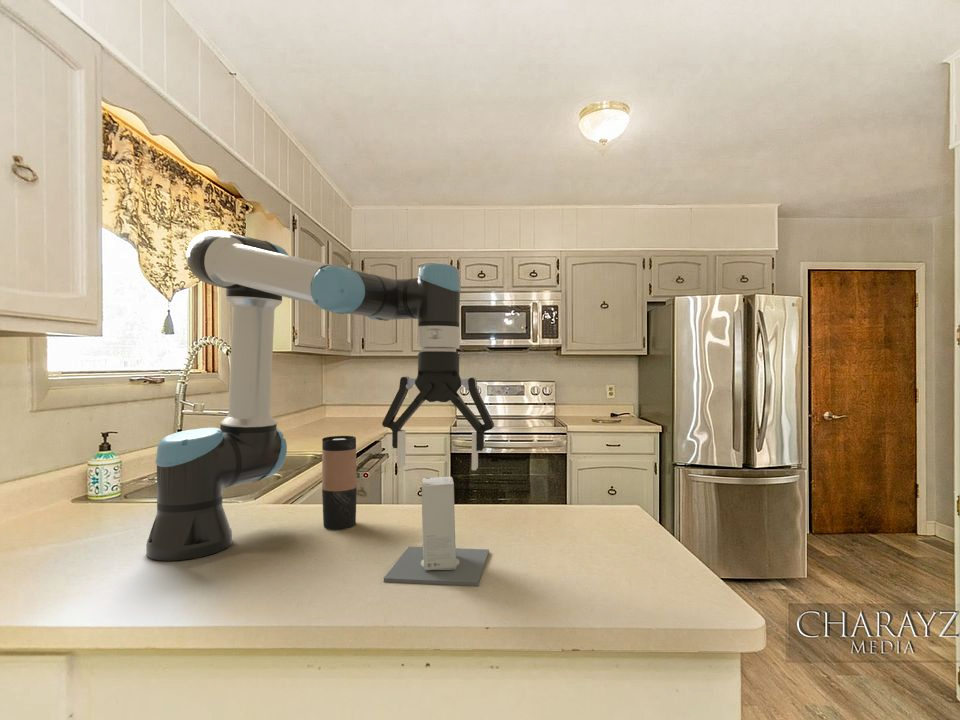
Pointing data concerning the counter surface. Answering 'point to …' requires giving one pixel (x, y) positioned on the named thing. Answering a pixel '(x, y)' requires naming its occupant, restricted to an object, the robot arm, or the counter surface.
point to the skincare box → (438, 523)
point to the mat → (464, 574)
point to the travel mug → (339, 482)
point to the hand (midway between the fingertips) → (437, 467)
